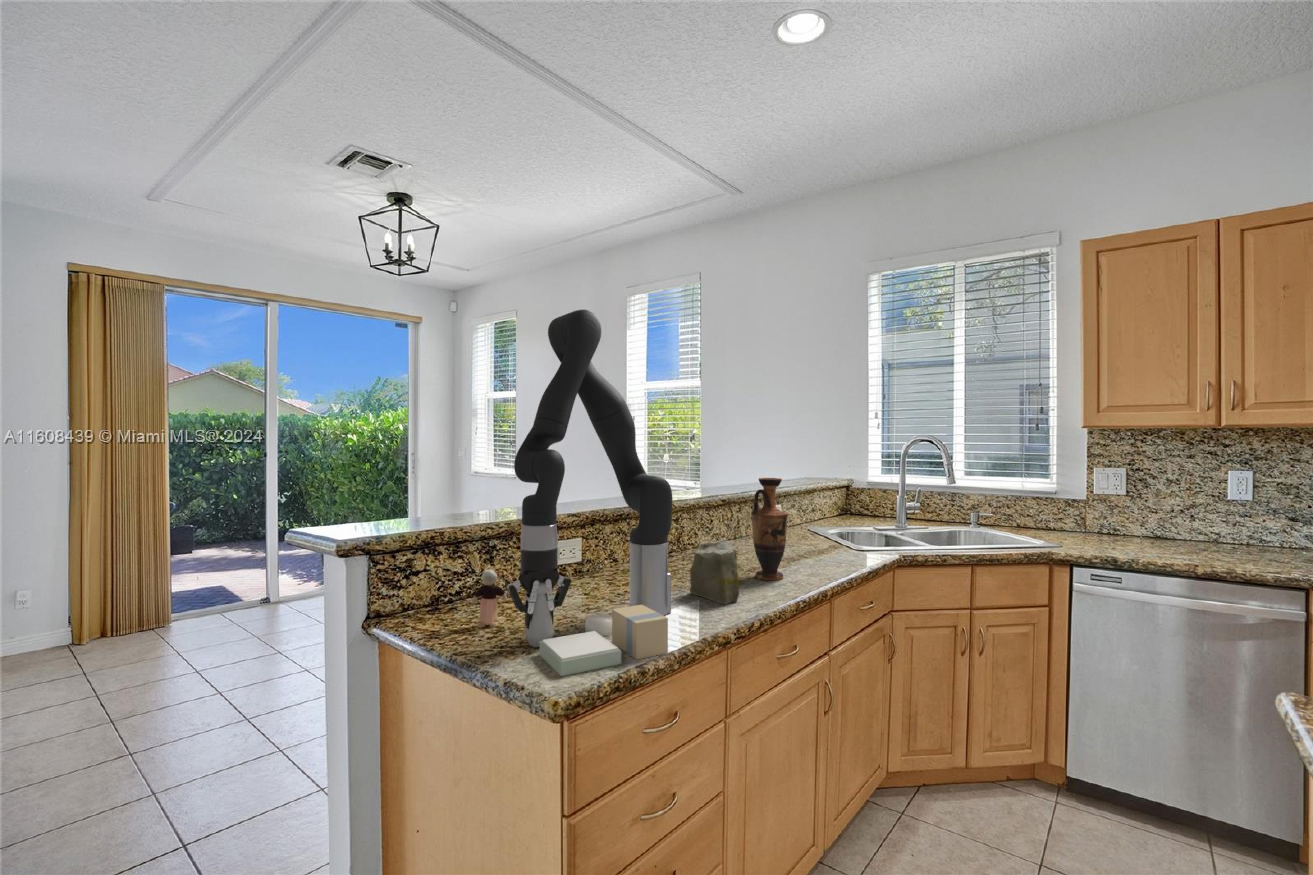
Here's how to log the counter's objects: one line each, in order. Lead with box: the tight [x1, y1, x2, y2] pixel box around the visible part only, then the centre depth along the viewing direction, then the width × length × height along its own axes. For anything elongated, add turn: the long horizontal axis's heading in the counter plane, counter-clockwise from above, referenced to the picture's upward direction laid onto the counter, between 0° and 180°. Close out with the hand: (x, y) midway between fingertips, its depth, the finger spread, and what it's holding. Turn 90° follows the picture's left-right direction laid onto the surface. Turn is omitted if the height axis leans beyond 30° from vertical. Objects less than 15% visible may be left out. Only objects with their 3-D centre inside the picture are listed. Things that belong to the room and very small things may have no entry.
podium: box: [539, 631, 622, 677], centre depth 118 cm, size 12×12×3 cm
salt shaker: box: [525, 582, 555, 648], centre depth 126 cm, size 6×6×13 cm
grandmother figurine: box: [471, 569, 508, 629], centre depth 138 cm, size 8×4×13 cm, turn 112°
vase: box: [750, 477, 789, 581], centre depth 184 cm, size 11×11×30 cm
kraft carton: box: [611, 605, 669, 661], centre depth 124 cm, size 7×11×7 cm, turn 29°
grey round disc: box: [584, 613, 612, 637], centre depth 134 cm, size 6×6×3 cm
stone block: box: [689, 538, 740, 605], centre depth 163 cm, size 10×15×15 cm
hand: (539, 628), depth 126 cm, fingers closed on salt shaker, 3 cm apart
